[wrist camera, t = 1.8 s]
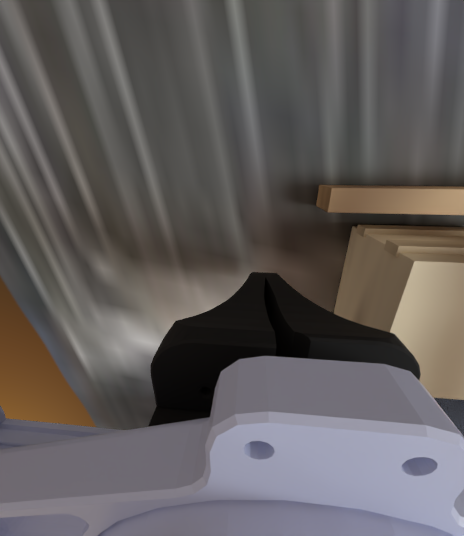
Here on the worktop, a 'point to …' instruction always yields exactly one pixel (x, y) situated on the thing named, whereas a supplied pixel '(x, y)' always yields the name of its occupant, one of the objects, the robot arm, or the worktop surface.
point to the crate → (411, 295)
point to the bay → (391, 199)
